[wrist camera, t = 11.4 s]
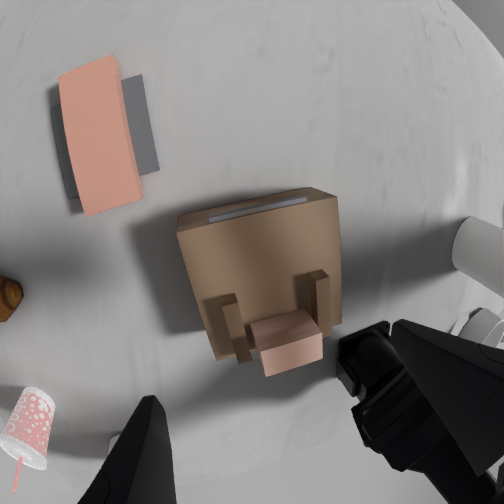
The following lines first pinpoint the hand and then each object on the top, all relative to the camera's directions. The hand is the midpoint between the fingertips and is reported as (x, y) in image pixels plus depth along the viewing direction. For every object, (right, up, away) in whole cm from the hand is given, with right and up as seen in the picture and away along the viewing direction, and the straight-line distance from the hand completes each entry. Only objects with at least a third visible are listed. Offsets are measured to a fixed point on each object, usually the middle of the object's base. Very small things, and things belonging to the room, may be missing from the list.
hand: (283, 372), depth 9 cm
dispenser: (-1, +3, +13) cm, 13 cm away
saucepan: (+41, -10, +28) cm, 51 cm away
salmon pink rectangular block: (-11, +12, +7) cm, 18 cm away
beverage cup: (-27, -14, +13) cm, 33 cm away
